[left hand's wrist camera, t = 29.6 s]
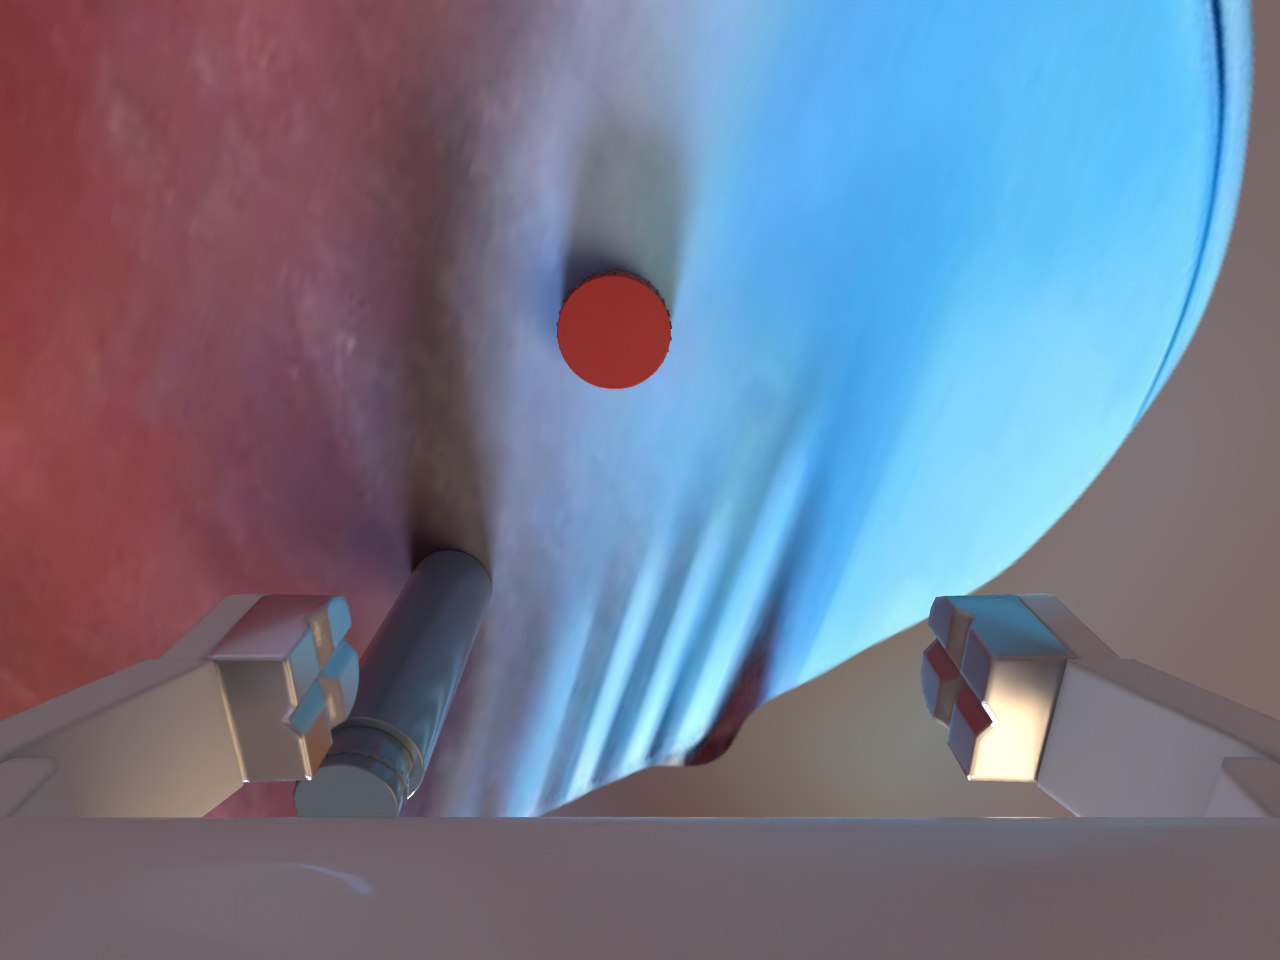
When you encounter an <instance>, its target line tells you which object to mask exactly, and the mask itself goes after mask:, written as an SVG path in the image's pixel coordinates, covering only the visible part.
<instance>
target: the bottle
mask: <svg viewBox="0 0 1280 960" xmlns="http://www.w3.org/2000/svg"><path fill="white" fill-rule="evenodd" d="M491 593H492V584H491V580H490V577H489V574H488V573H487V571H486V569H485V568H484V567H483V565H482V564H481V563H480V562H479V561H477V560H476V559H475V558H473V557H472V556H470V555H468V554H465V553H462V552H459V551H452V550H444V551H438V552H435V553H432V554H430V555H428V556H426V557H425V558H424V559H422V560H421V561H420V562H419V563H418V565H417V566H416V568H415V569H414V571H413V573H412V574H411V576H410V578H409V579H408V581H407V583H406V584H405V586H404V588H403V589H402V591H401V593H400V594H399V596H398V597H397V599H396V601H395V602H394V604H393V606H392V607H391V609H390V611H389V612H388V614H387V616H386V617H385V619H384V621H383V622H382V624H381V626H380V627H379V629H378V630H377V632H376V634H375V635H374V637H373V639H372V640H371V642H370V644H369V645H368V647H367V649H366V650H365V652H364V654H363V655H362V657H361V659H360V660H359V662H358V665H359V685H358V689H357V694H356V698H355V702H354V706H353V707H352V709H351V711H350V713H349V715H348V717H347V719H346V720H345V721H343V722H342V723H340V724H339V725H337V726H336V727H334V728H332V729H331V736H332V742H333V744H332V745H331V747H330V749H329V751H328V752H327V754H326V756H325V758H324V759H323V761H322V763H321V765H320V766H319V768H318V770H317V772H316V773H315V775H314V777H313V779H312V780H297V781H296V783H295V789H294V792H293V794H294V802H295V804H294V805H295V807H296V810H297V812H298V814H299V817H398V814H399V812H400V809H401V807H402V805H406V802H407V799H408V798H409V797H410V796H411V795H413V794H414V793H415V792H416V790H417V789H418V788H419V786H420V785H421V783H422V780H423V777H424V775H425V772H426V769H427V767H428V764H429V761H430V759H431V756H432V753H433V751H434V748H435V745H436V743H437V740H438V737H439V734H440V732H441V729H442V726H443V724H444V721H445V718H446V716H447V713H448V710H449V708H450V705H451V702H452V700H453V697H454V694H455V692H456V689H457V686H458V683H459V681H460V678H461V675H462V673H463V670H464V667H465V665H466V662H467V659H468V657H469V654H470V651H471V649H472V646H473V643H474V641H475V638H476V635H477V632H478V630H479V627H480V624H481V622H482V619H483V616H484V614H485V611H486V608H487V606H488V603H489V600H490V598H491Z"/></svg>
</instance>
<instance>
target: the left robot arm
mask: <svg viewBox="0 0 1280 960" xmlns="http://www.w3.org/2000/svg"><path fill="white" fill-rule="evenodd" d="M351 625H352V622H351V617H350V612H349V607H348V603H347V602H346V601H345V599H344V598H343V597H342V596H331V595H278V594H271V595H268V594H235V595H227V596H225V597H224V598H223V599H222V600H221V601H220V602H219V603H218V604H216V605H215V606H214V607H213V608H212V609H211V610H210V611H209V612H208V613H207V614H206V615H205V616H204V617H203V618H202V619H201V620H200V621H198V622H197V623H196V624H195V625H194V626H193V627H192V628H191V629H190V630H189V631H188V632H187V633H186V634H185V635H184V636H183V637H181V638H180V639H179V640H178V641H177V642H176V643H175V644H174V645H173V646H172V647H171V648H170V649H169V650H168V651H167V652H166V653H165V654H163V655H162V656H161V657H160V658H159V659H146V660H143V661H141V662H138V663H136V664H134V665H131V666H129V667H127V668H124V669H122V670H119V671H117V672H115V673H112V674H110V675H107V676H105V677H103V678H100V679H98V680H95V681H93V682H91V683H88V684H86V685H84V686H81V687H79V688H76V689H74V690H72V691H69V692H67V693H64V694H62V695H60V696H57V697H55V698H53V699H50V700H48V701H45V702H43V703H41V704H38V705H36V706H33V707H31V708H29V709H26V710H24V711H21V712H19V713H17V714H14V715H12V716H10V717H7V718H5V719H2V720H0V960H1280V720H1277V719H1275V718H1272V717H1270V716H1268V715H1265V714H1263V713H1260V712H1258V711H1256V710H1253V709H1251V708H1249V707H1246V706H1244V705H1242V704H1239V703H1237V702H1234V701H1232V700H1230V699H1227V698H1225V697H1222V696H1220V695H1218V694H1215V693H1213V692H1211V691H1208V690H1206V689H1203V688H1201V687H1199V686H1196V685H1194V684H1192V683H1189V682H1187V681H1184V680H1182V679H1180V678H1177V677H1175V676H1172V675H1170V674H1168V673H1165V672H1163V671H1161V670H1158V669H1156V668H1153V667H1151V666H1149V665H1146V664H1144V663H1142V662H1139V661H1137V660H1134V659H1121V658H1120V657H1119V656H1118V655H1117V654H1116V653H1115V652H1113V651H1112V650H1111V649H1110V648H1109V647H1108V646H1107V645H1106V644H1105V643H1104V642H1103V641H1102V640H1101V639H1100V638H1099V637H1098V636H1096V635H1095V634H1094V633H1093V632H1092V631H1091V630H1090V629H1089V628H1088V627H1087V626H1086V625H1085V624H1084V623H1083V622H1082V621H1081V620H1080V619H1079V618H1077V617H1076V616H1075V615H1074V614H1073V613H1072V612H1071V611H1070V610H1069V609H1068V608H1067V607H1066V606H1065V605H1064V604H1063V603H1062V602H1061V601H1059V600H1058V599H1057V598H1056V597H1055V596H1052V595H1049V594H1021V595H1014V594H1013V595H972V596H942V597H936V598H935V600H934V602H933V605H932V607H931V610H930V616H929V621H928V625H929V626H930V628H931V629H932V631H933V632H934V634H935V635H936V637H937V638H936V639H935V640H934V641H933V642H932V643H931V645H930V646H929V647H928V648H927V649H926V650H925V651H924V652H923V659H922V667H921V680H922V691H923V695H924V699H925V702H926V705H927V708H928V710H929V711H930V713H931V715H932V717H933V719H934V720H935V721H937V722H938V723H940V724H941V725H943V726H944V727H946V728H948V729H949V736H948V742H947V744H948V745H949V747H950V749H951V751H952V752H953V754H954V756H955V758H956V759H957V761H958V763H959V764H960V766H961V768H962V770H963V771H964V773H965V775H966V777H967V778H968V780H981V781H1018V782H1037V784H1036V785H1037V786H1038V787H1039V788H1041V789H1042V790H1044V791H1045V792H1046V793H1047V794H1049V795H1050V796H1051V797H1053V798H1054V799H1055V800H1057V801H1058V802H1059V803H1060V804H1062V805H1063V806H1064V807H1066V808H1067V809H1069V810H1070V811H1071V812H1072V813H1074V814H1075V815H1076V816H1078V817H203V816H204V815H205V814H207V813H208V812H209V811H211V810H212V809H213V808H215V807H216V806H217V805H218V804H220V803H221V802H222V801H224V800H225V799H226V798H228V797H229V796H230V795H232V794H233V793H234V792H236V791H237V790H238V789H240V788H241V787H242V786H243V785H244V784H243V782H262V781H297V780H312V779H313V777H314V775H315V773H316V772H317V770H318V768H319V766H320V765H321V763H322V761H323V759H324V758H325V756H326V754H327V752H328V751H329V749H330V747H331V745H332V744H333V742H332V736H331V729H332V728H334V727H336V726H337V725H339V724H340V723H342V722H343V721H345V720H346V719H347V717H348V715H349V713H350V711H351V709H352V707H353V706H354V702H355V698H356V694H357V689H358V685H359V665H358V658H357V652H356V651H355V650H354V649H353V648H352V647H351V646H350V645H349V643H348V642H347V641H346V640H345V639H344V638H343V637H344V636H345V634H346V633H347V631H348V629H349V628H350V626H351Z"/></svg>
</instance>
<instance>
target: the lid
mask: <svg viewBox="0 0 1280 960" xmlns="http://www.w3.org/2000/svg"><path fill="white" fill-rule="evenodd" d="M570 293H571V295H570V296H569V297H568V296H567V298H566V299H565V301H564V302H563V303H565V304H564V306H563V307H562V309H561V310H560V312H559V314H560V316H559V320H558V323H557V326H558V327H557V338H558V343H559V348H560V350H561V353H562V356H563V358H564V360H565V361H566V363H567V364H568V366H569V367H570V368H571V369H572V371H573V372H574V373H575V374H576V375H578V376H579V377H580V378H581V379H583V380H584V381H586V382H588V383H590V384H592V385H594V386H597V387H600V388H605V389H624V388H629V387H632V386H635V385H637V384H640V383H642V382H643V381H645V380H646V379H648V378H649V377H650V376H652V375H653V374H654V373H655V372H656V371H657V369H658V368H659V367H660V365H661V364H662V363H663V362H664V359H665V357H666V354H667V352H668V351H669V344H670V341H671V329H672V325H671V321H669V317H670V314H669V310H666V307H665V305H666V304H665V300H664V299H662V298H661V297H660V295H659V291H658V290H657V289H656V290H655V289H654V288H653V287H652V286H651V285H650V282H649V281H648V282H647V281H645V280H644V279H642V278H640V275H638V276H636V275H634V274H631V273H629V271H627V272H622V271H617V269H615V271H608V272H606V271H605V270H603V272H602V273H599V274H596V275H594V274H592V275H591V277H589V278H588V279H586V280H584V279H583V280H582V281H581V282H580V285H578V286H577V287H574V288H573V289H572V291H571V292H570Z"/></svg>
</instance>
